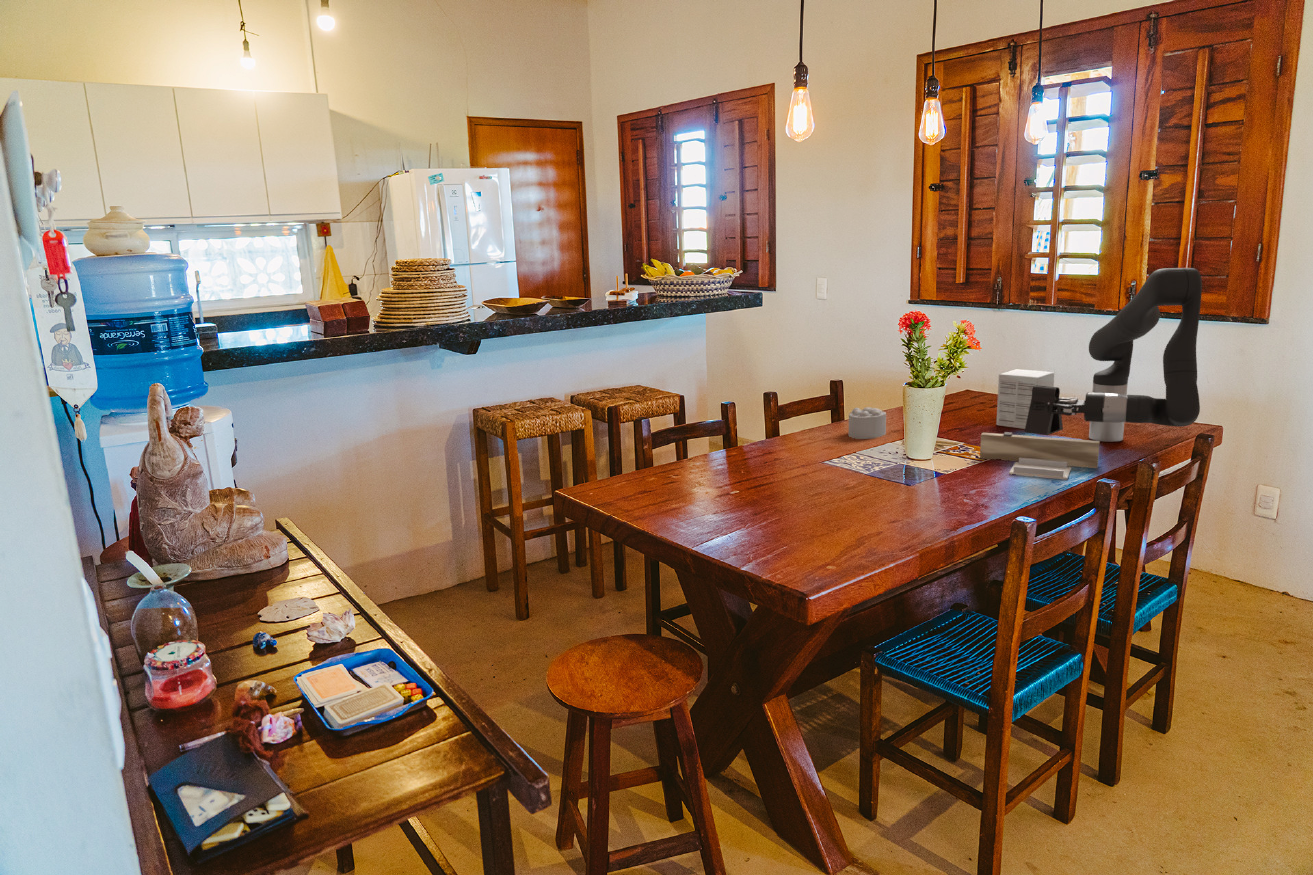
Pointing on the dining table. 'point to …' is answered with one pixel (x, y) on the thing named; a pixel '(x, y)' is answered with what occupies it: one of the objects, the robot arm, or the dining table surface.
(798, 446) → the dining table surface
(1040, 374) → the supplement box
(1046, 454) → the door board
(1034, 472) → the keeper plate
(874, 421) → the lumpy-topped squat cylinder
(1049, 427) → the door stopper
